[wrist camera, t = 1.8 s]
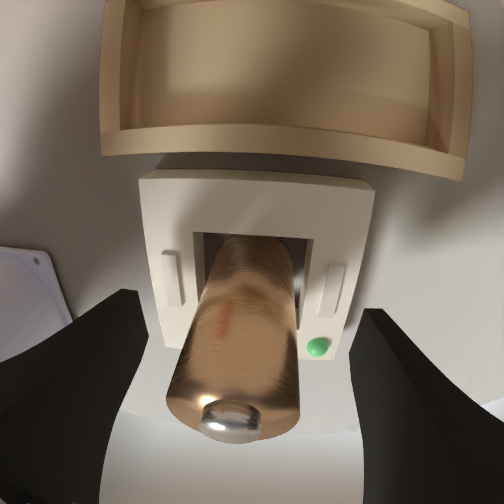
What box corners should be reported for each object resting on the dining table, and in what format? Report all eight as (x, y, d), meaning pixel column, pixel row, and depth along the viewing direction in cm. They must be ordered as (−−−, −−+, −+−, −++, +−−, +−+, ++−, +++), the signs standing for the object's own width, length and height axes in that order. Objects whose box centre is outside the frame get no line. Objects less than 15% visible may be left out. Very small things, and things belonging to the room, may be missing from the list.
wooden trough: (130, 146, 10) (101, 156, 8) (135, 1, 7) (108, -15, 5) (432, 167, 9) (461, 181, 7) (439, 23, 6) (468, 12, 4)
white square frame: (174, 326, 14) (162, 353, 12) (154, 169, 10) (131, 182, 9) (329, 338, 14) (334, 367, 12) (363, 180, 10) (380, 195, 8)
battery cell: (217, 293, 13) (174, 445, 6) (215, 228, 11) (145, 384, 5) (288, 298, 13) (290, 458, 6) (295, 233, 11) (312, 401, 5)
